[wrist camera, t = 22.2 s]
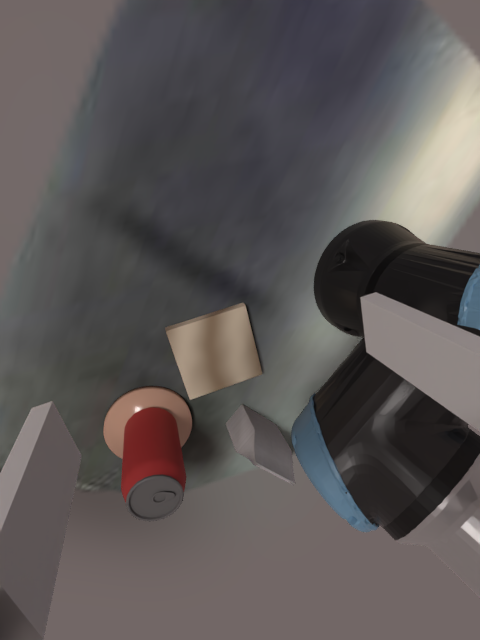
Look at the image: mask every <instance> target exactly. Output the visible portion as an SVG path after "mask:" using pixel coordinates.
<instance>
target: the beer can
mask: <svg viewBox="0 0 480 640" xmlns="http://www.w3.org/2000/svg"><path fill="white" fill-rule="evenodd" d="M185 483H186V473H185V468H184V462H183V456H182V450H181V444H180V438H179V433H178V427H177V422H176V419H175V418H174V417H173V415H172V414H171V413H169V412H168V411H166V410H164V409H161V408H146V409H142V410H140V411H138V412H136V413H135V414H133V415H132V417H131V418H130V419H129V420H128V421H127V423H126V425H125V429H124V444H123V463H122V482H121V490H122V494H123V497H124V500H125V502H126V507H127V510H128V512H129V513H130V514H131V515H132V516H133V517H135V518H137V519H139V520H144V521H157V520H160V519H163V518H166V517H167V516H169V515H171V514H173V513H174V512H175V511H176V510H177V509H178V508H179V506H180V505H181V503H182V501H183V496H184V489H185Z"/></svg>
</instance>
